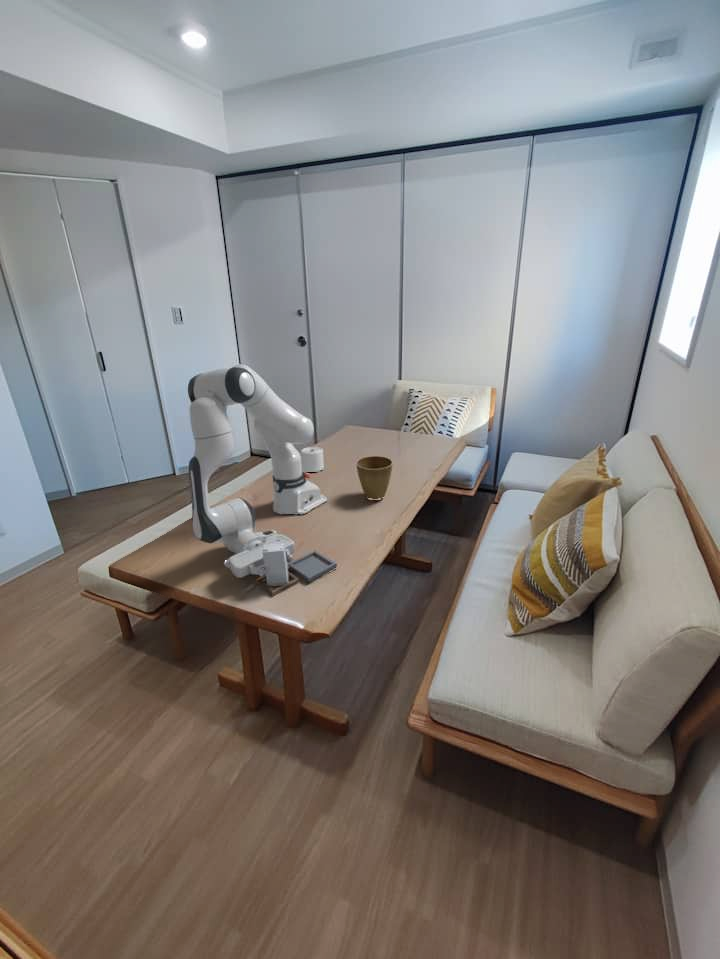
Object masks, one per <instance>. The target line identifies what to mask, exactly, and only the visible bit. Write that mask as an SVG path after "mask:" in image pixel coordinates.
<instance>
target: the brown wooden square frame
mask: <svg viewBox="0 0 720 959" xmlns="http://www.w3.org/2000/svg"><path fill="white" fill-rule="evenodd" d="M288 576H289V578H290V580H291V581H288V583H287V584H285V585H281V586H279V587H278V588H275V589H273V588H272V587H271V586H268V585H267V583H265V582H264V581H267V579H266V574H265V575H263V576H258V577H257V578H256V579H255V583H256V584H258V585H259V586H260V587H261V588H262V589H264V591H266V592H267V593H269V594H270V595H271V596H272V597H275V596H277V595H279V594H280V593H282V592H284V591H286V590H288V589H289V588H291V587H293V586H296V585H297V584H300V577H299V578H298V577H297V575H294V574H293V572H292V573H291V572H290V570H288Z"/></svg>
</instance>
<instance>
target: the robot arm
mask: <svg viewBox="0 0 720 959" xmlns="http://www.w3.org/2000/svg"><path fill="white" fill-rule="evenodd" d="M187 395H188V398H189V400H190V403H191V404H190V405H189V419H190V426H191V432H192V436H193V440H194V452H193V453H194V454H193V456H192V458H191V459H190V460H189V462H188V479H189V480H188V481H189V490H190V500H191V511H192V512H191V514H192V517H191V518H192V519H191V521H192V522H191V523H192V524H191V525H192V530H193V533H194V535H195V537H196V539H197V540H199V541H200V542H204V543H207V544H213V543H215V542H216V541H219V540H220V541H221V543H222V544H223V545H224V546H225V548H226V549H228V550H229V551H230V552H232V553H234V554H233V555H232V556H230V557H227V558H226V559H225V561H224V562H223V565H224V566H225V568H228V569H230V571H231V573H232V574H233V575H234V576H235V577H236V578H240V579H242V578H244V577H246V576H248V575H257V576H258V575H259V577H261V576H263V575H265V574H266V573H265V572H266V571H265V566H264V559H263V553H262V552H263V548H264V545H272V544H284V545H285V552H286V560H287V564H288V563H290V562H292V561H294V557H293V555H291V554H294V553H295V550H296V545H295V542H294V541H293V539H290V538H289V537H288V536H286V535H284V534H280V533H277V530H274V529H272V530H267V531H262V532H261V531H259V532H254V531H253V530H254V529H255V525H256V512H255V509H254V507H253V506H252V505H251V504H250V502H248V501H247V500H246V499H243V498H241V497H236V498H232V499H230V500H227V501H225V502H223V503H220V504H217V505H214V506H212V507H210V500H209V491H208V490H209V487H208V484H209V483H208V482H209V479H210V477H212V474H214V473H215V472H216V471H217V470H218V469H219V468H220V467H223V465H224V464H226V462H228V460H230V458H231V457H232V456H233V453H234V451H235V446H236V444H235V443H236V442H235V437H234V433H233V430H232V425H231V422H230V418H229V417H228V414H227V409H228V406H232V405H236V404H241V405H242V407H243V408H245V410H246V411H247V412H248V413H249V414H250V415H251V416H252V417H253V418H254V429H255V431H256V432H257V433H258V434H259V435H260V437H261V439H263V441H264V443H265V446H266V447H267V450H268V452H269V455H270V459H271V465H272V485H273V490H274V492H273V493H274V494H273V496H274V497H273V505H272V511H273V512H274V513H276V514H279V515H282V514H295V515H297V514H305V513H307V512H308V511H310V510H311V509H313V508H315V507H317V506H318V505H320V504H322V503H324V502H325V501H327V502H328V499H327V497H326V496H325V495H324V494H323V493H321V489H320V488H319V487H318V485H317V484H315V483H313V482H312V481H309V480H308V479H311V476H312V473H304V472H302V466H301V456H300V454H301V452H299V451H298V450H297V449H296V447H295V446H294V445H303V444H308V443H309V442H310V441H311V440H312V438H313V436H314V432H315V428H314V423H313V421H312V420H311V419H310V418H309V417H306V416H305V415H303V414H301V413H300V412H299V411H297V410H295V409H294V408H293V407H292V406H290V405H289V404H288V403H286V402H285V401H284V400H283V399H282V398H280V397H279V396H278V395H277V393H275V391H273V389H272V388H271V387H270V386H269V385H268V384H267V381H265V380H264V379H263V378H262V376H260V375H259V374H258V373H257V372H256V371H255V370H253V369H252V368H251V367H250V366H248V365H246V364H242V363H241V364H239V363H238V364H236V365H233V366H232V367H229V368H228V367H227V368H219V369H218V368H217V369H214V370H211V371H207V372H205V373H198V374H196V375H194V376H193V377H192V378H190V380H189V381H188V385H187ZM324 504H325V503H324ZM322 505H323V504H322ZM320 506H321V505H320ZM317 508H318V507H317ZM315 509H316V508H315ZM310 512H311V511H310ZM308 513H309V512H308ZM308 513H307V514H308ZM305 515H306V514H305Z"/></svg>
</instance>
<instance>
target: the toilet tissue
mask: <svg viewBox="0 0 720 959" xmlns="http://www.w3.org/2000/svg"><path fill="white" fill-rule="evenodd" d="M300 456H301V466H302V472H314V471H319V470H322V469H323V468H324V469H325V466H324V462H325V461H324V459H325V458H324V449H323V448H322V447H319V446H308V447H303V448H302V449H301V450H300Z"/></svg>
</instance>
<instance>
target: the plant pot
mask: <svg viewBox="0 0 720 959" xmlns="http://www.w3.org/2000/svg"><path fill="white" fill-rule="evenodd" d="M355 465H356V470H357V476H358V478H359V479H358V480H359V482H360V486H361V488H362V492H363V493H364V496H365V498H366V497H368V498H372V499H378V498H382V497H384V498H385V495H386V493H387V490H388V487H389V484H390V481H391V475H392V470H393V460H392V459H391V458H390V457H387V456H380V455H370V456H364V457H361V458H359V459H357V461H356V462H355Z"/></svg>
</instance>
